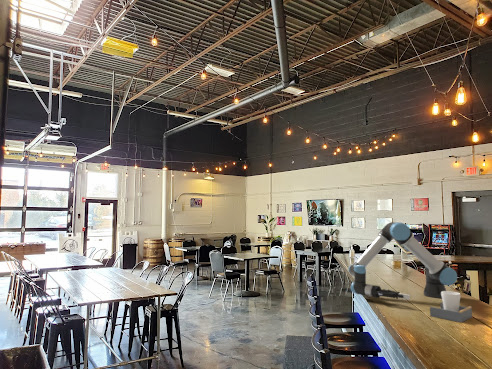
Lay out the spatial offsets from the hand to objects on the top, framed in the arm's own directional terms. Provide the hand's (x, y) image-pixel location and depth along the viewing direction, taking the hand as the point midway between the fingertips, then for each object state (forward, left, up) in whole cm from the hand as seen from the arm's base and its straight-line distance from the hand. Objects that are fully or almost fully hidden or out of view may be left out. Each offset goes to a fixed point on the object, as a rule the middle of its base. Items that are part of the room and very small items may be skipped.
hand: (409, 297), depth 221 cm
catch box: (0, +23, -7) cm, 24 cm away
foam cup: (-1, +23, -7) cm, 24 cm away
